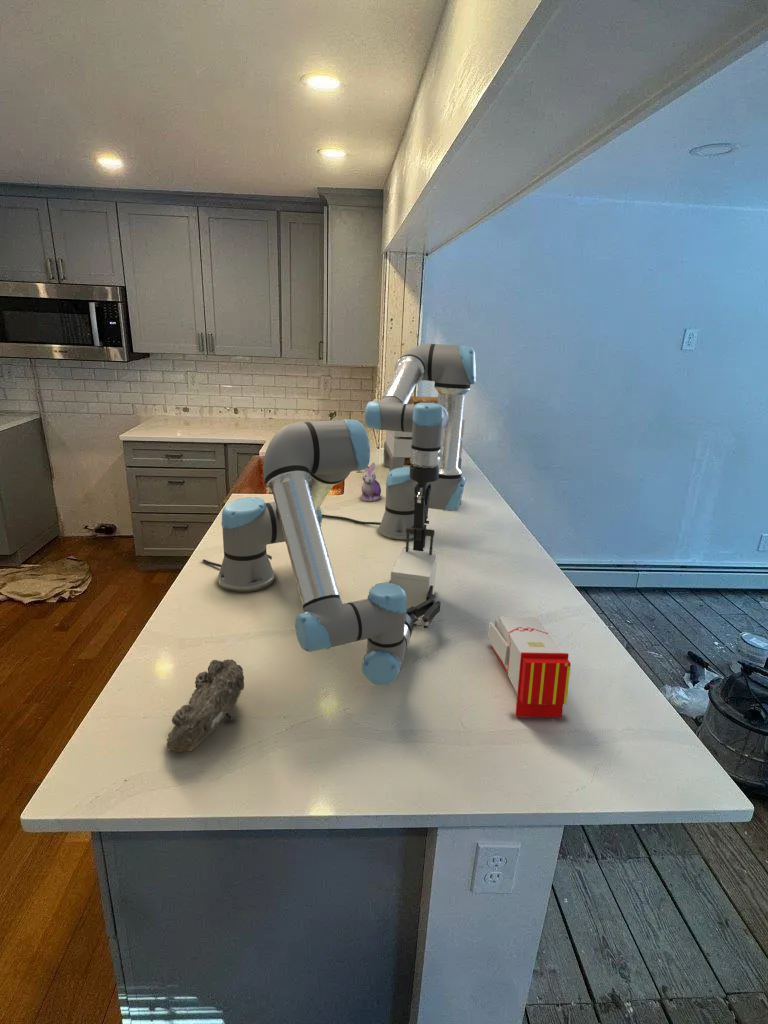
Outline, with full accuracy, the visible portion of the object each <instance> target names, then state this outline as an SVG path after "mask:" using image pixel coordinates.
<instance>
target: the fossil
mask: <svg viewBox="0 0 768 1024" xmlns="http://www.w3.org/2000/svg"><path fill="white" fill-rule="evenodd" d="M243 670H244V669H243V667H242V665H240V664H237V662H236V661H235V660H234V659H232V658H231V659H227V658H226V659H224V660H223V661H222V660H217V659H212V660H211V661H210V663H209V665H208V666H207V671H201V672H199V673H198V674H197V675H196V676H195V680H194V684H195V685H194V687H195V689H194V690H193V693H192V694H191V697H190V698H189V700H188V704H184V705H182V706H181V707H180V709H177V710H176V711H175V713H174V715H173V716H172V718H171V723H172V724H173V727H172V730H171V731H170V732H168V734H167V738H166V741H167V742H166V745H167V749H168V750H169V751H173V752H174V753H176V754H178V753H182V752H188V751H189V752H192V751H193V750H195V748H196V747H197V746H199V744H200V743H201V742H203V741H204V740H205V739H206V738H207V737H208V736H209V735H210V734H211V733H212V732H214V730H215V729H217V727H218V726H219V724H220V722H221V721H222V720H223V719H224V718H225V716H226V717H227V719H229V720H233V717H232V715H230V714H229V710H230V709H231V708H234V706H235V704H236V703H237V702H238V699H239V697H240V695H241V693H242V691H243V690H245V689H244V688H245V675H244V671H243Z"/></svg>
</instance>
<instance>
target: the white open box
mask: <svg viewBox="0 0 768 1024" xmlns="http://www.w3.org/2000/svg"><path fill="white" fill-rule="evenodd" d="M437 564H438V558H437V559H436V562H435V565H434V568H433V571H432V574H431V577H430V580H429V581H423V580H416V579H408V578H401V577H394V576H391V575H390V580H391V583H392V584H396V585H398V586H400V587H401V588H402V589H403V590H404V591H405V593H406V609H409V608H411V607H416V606H417V605H419V604H421V603H423V602H425V601H426V598H427V594H428V591H429V588H430V586H433V594H434V595H435V587H436V574H437ZM421 617H422V616H420V617H418V618H417V619H420V618H421Z"/></svg>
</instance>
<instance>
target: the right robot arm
mask: <svg viewBox="0 0 768 1024" xmlns="http://www.w3.org/2000/svg"><path fill="white" fill-rule="evenodd" d="M476 365H477V364H476V353H475V350H474V348H473V347H471V346H468V345H461V344H443V343H442V344H441V343H439V344H438V343H423V344H418V345H415V346H413V347H411V348H410V349H408V350H407V351H405V352H404V353H402V354H401V356H400V357H399V358H398V360H397V361H396V363H395V364H394V373H393V375H392V377H391V379H390V381H389V383H388V385H387V387H386V389H385V390H384V392H383V394H382V396H381V398H380V399H379V401H378V400H370V401H368V402H367V404H366V406H365V411H364V423H365V425H366V427H367V428H368V429H370V430H371V429H372V430H378V431H386V430H389V431H401V432H411V433H412V445H411V455H410V462H411V463H412V464H411V465H410V466H404V467H401V468H396V469H393V470H391V471H390V470H389V472H388V473H387V475H386V482H385V504H384V505H385V507H384V508H385V509H384V513H383V515H382V519H381V522H378V521H377V522H376V521H361V520H357V519H354V518H349V517H345V516H339V515H331V514H330V515H329V514H322V518H328V519H335V520H336V519H337V520H343V521H348V522H352V523H355V524H360V525H372V526H373V525H374V526H375V525H376V526H379V527H378V533H379V534H380V535H381V536H382V537H385V538H387V539H389V540H395V541H406V537H407V534H406V528H407V527H412V528H414V534H410V535H409V541H410V540H413V545H412V548H413V550H415V551H423V550H425V547H426V537H427V536H424V535H425V529H427V525H429V524H430V520H428V518H429V509H430V510H431V509H433V510H442V511H444V512H445V511H451V512H454V511H457V510H458V509H459V508H460V506H461V505H460V501H461V502H462V498H463V493H464V489H465V484H466V478H465V477H464V476H462V475H463V474H462V473H463V472H462V469H461V470H460V469H459V468H458V460H459V450H460V439H461V440H462V438H461V429H462V419H464V408H465V407H464V406H465V397H466V394H467V393H468V392H469V391H470V390H471V385H475V384H476V380H477V378H476V377H477V366H476ZM422 381H426V382H427V381H428V382H434V386H433V387H434V389H435V391H437V393H438V394H437V397H438V404H436V403H418V404H416V405H415V404H408V402H409V400H410V397H411V396H413V393H414V391H415V389H416V387H417V384H419V383H421V382H422ZM459 505H460V506H459Z"/></svg>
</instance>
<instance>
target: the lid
mask: <svg viewBox="0 0 768 1024" xmlns="http://www.w3.org/2000/svg"><path fill="white" fill-rule="evenodd" d="M406 534H407V537H406V540H405V546H404V547H402V548H401V550H400V552H399V554H398V555H397V559H396V561H395V562H394V565H393V567H392V569H391V571H390V577H391V576H394V577H401V578H408V579H416V580H423V581H429V580H430V577H431V574H432V571H433V568H434V565H435V562H436V559H437V560H438V554H439V551H437V550H433V545H434V537H435V529H430V528H426V529H425V535H424V536H426V537H429V538H430V539H429V549H423V551H415V550H413V547H410V540H409V535H410V534H414V528H412V527H407V528H406Z"/></svg>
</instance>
